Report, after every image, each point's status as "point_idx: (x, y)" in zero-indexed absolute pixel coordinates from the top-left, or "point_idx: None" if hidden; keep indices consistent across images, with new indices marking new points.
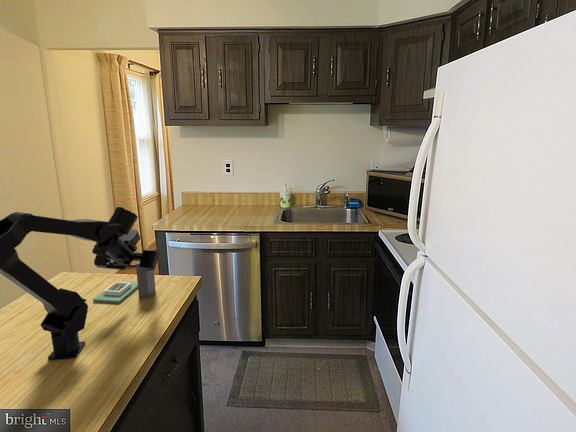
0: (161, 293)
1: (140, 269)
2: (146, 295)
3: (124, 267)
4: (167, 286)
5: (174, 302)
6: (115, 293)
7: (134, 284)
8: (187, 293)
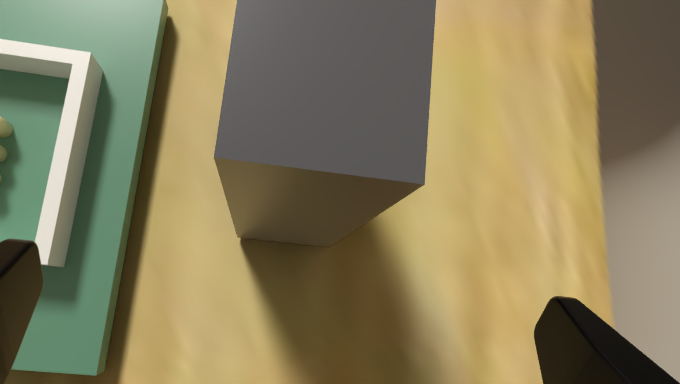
0: None
1: (294, 189)
2: (311, 243)
3: (20, 292)
4: None
5: None
6: None
7: (115, 22)
8: (596, 157)
